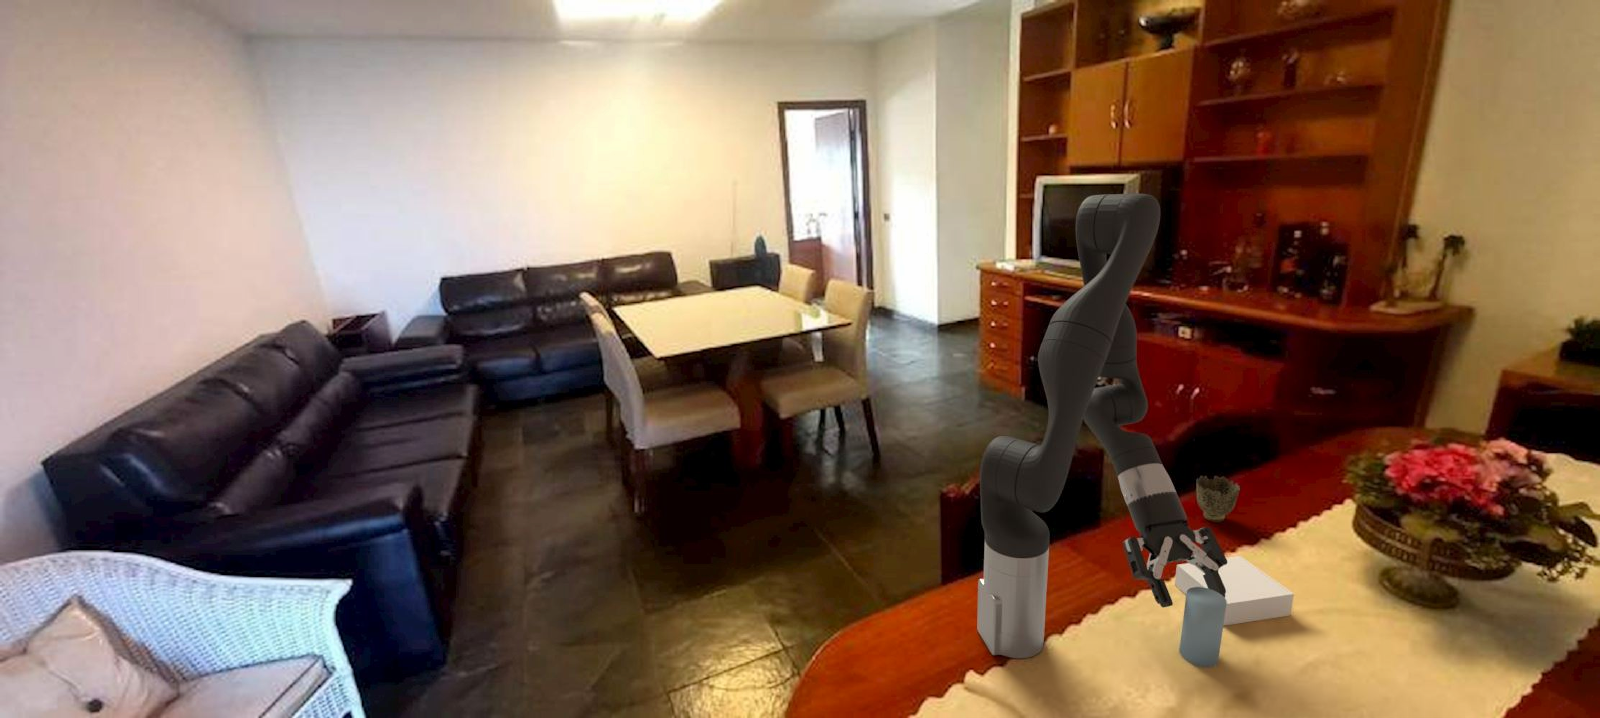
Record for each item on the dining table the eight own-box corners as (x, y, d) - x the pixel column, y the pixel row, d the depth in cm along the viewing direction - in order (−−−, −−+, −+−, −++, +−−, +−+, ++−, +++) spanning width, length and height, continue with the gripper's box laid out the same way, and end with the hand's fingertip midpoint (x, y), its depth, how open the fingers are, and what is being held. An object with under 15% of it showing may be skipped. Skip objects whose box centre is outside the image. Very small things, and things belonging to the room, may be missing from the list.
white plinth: (1222, 625, 105) (1225, 604, 104) (1174, 584, 115) (1176, 564, 114) (1290, 615, 106) (1294, 593, 105) (1237, 575, 117) (1240, 555, 116)
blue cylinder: (1195, 669, 96) (1203, 610, 94) (1171, 646, 101) (1178, 589, 98) (1226, 664, 97) (1235, 605, 94) (1201, 641, 102) (1209, 584, 99)
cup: (1228, 511, 138) (1233, 476, 135) (1240, 529, 131) (1245, 492, 129) (1187, 508, 140) (1192, 473, 137) (1197, 526, 133) (1202, 490, 131)
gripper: (1121, 495, 103) (1163, 605, 95) (1204, 484, 104) (1253, 591, 97) (1099, 509, 109) (1137, 613, 101) (1178, 499, 111) (1221, 600, 103)
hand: (1193, 602), depth 99 cm, fingers open, 8 cm apart
